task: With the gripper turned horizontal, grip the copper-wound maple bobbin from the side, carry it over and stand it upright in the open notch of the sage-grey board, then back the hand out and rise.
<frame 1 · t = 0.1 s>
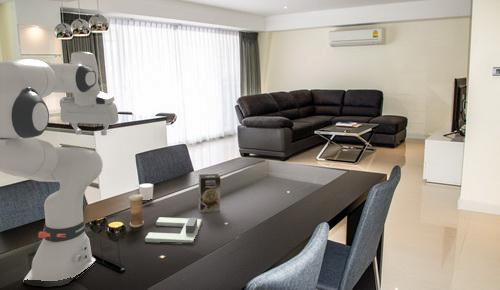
hand: (91, 134, 146), 39 cm above the table, tool pointing down, fingers open, 8 cm apart
coffee box: (209, 209, 181), on the table
bobbin: (136, 224, 162), on the table
notched board: (175, 231, 157), on the table
shot glass: (146, 199, 192), on the table
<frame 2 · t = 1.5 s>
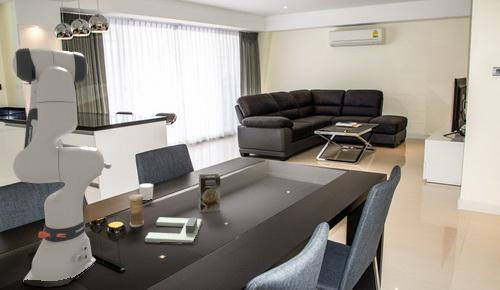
hand: (106, 169, 158), 23 cm above the table, tool horizontal, fingers open, 8 cm apart
nothing on the table moved.
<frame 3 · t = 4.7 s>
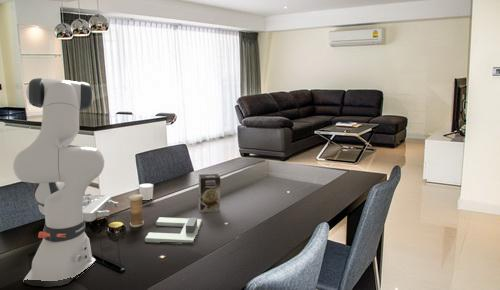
hand: (114, 208, 161), 6 cm above the table, tool horizontal, fingers open, 8 cm apart
nothing on the table moved.
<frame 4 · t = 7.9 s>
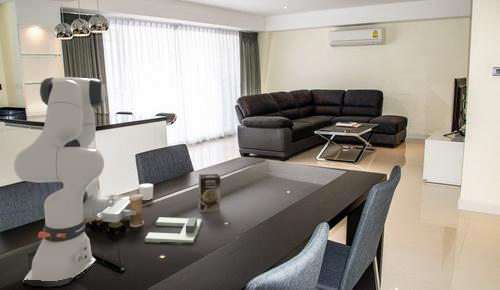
hand: (138, 209, 161), 7 cm above the table, tool horizontal, fingers closed on bobbin, 5 cm apart
bobbin: (136, 224, 162), on the table, touching gripper
everything else where it was.
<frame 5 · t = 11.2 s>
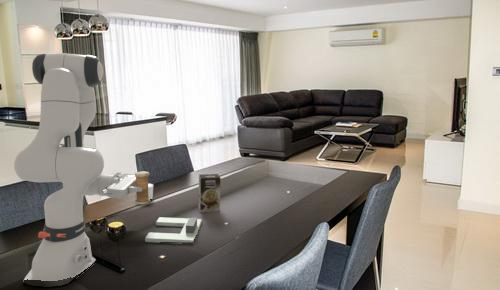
hand: (144, 186, 157), 17 cm above the table, tool horizontal, fingers closed on bobbin, 5 cm apart
bobbin: (142, 202, 159), point 10 cm above the table, touching gripper
everything else where it was.
when the fingers open (8 cm above the table, at t = 14.7 s): bobbin drops 1 cm, on the table.
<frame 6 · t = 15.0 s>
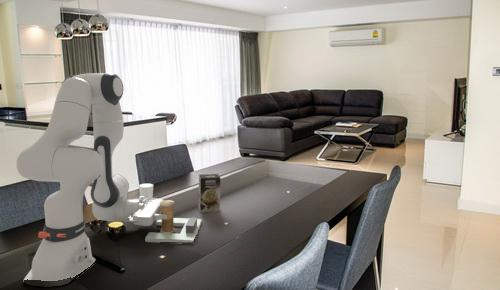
hand: (169, 212, 155), 8 cm above the table, tool horizontal, fingers open, 7 cm apart
bobbin: (167, 231, 157), on the table
everything else where it was.
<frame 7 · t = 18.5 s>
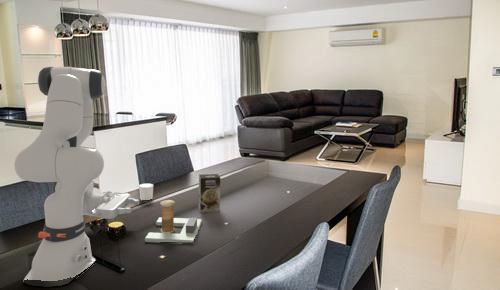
hand: (134, 206, 155), 10 cm above the table, tool horizontal, fingers open, 8 cm apart
nothing on the table moved.
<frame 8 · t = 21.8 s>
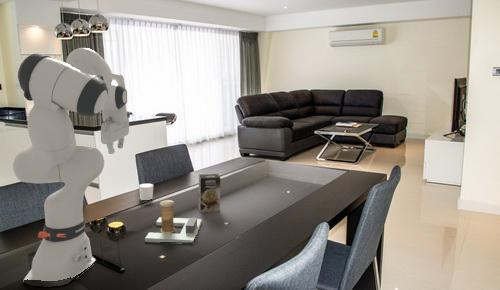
hand: (116, 150, 155), 31 cm above the table, tool pointing down, fingers open, 8 cm apart
nothing on the table moved.
at the end: bobbin inside the target area on the notched board (0.0 cm from its centre), point 0.0 cm above the notched board's base; bobbin tilted 1°; the gripper is holding nothing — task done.
